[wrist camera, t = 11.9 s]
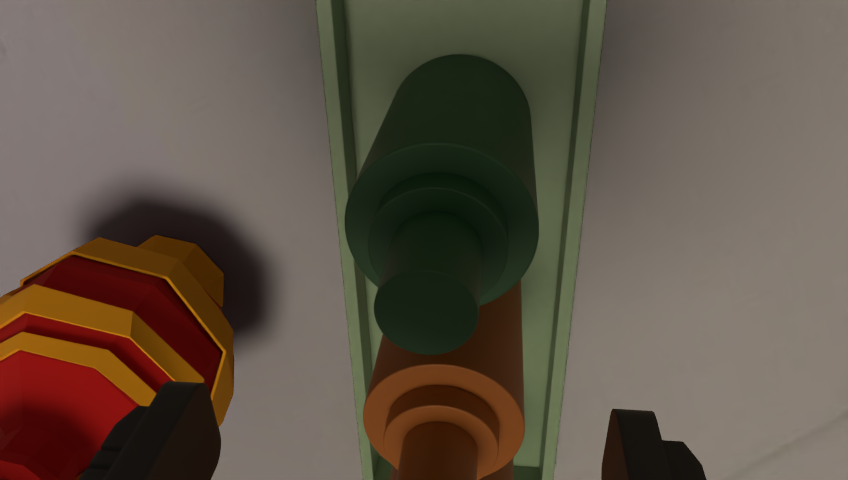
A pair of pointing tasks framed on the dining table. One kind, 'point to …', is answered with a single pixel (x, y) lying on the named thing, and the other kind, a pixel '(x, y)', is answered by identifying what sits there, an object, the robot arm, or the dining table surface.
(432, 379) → the amber bottle mid
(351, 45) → the tray
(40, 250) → the dining table surface
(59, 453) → the potion bottle
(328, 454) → the dining table surface
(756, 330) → the dining table surface
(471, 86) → the green bottle
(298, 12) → the dining table surface
